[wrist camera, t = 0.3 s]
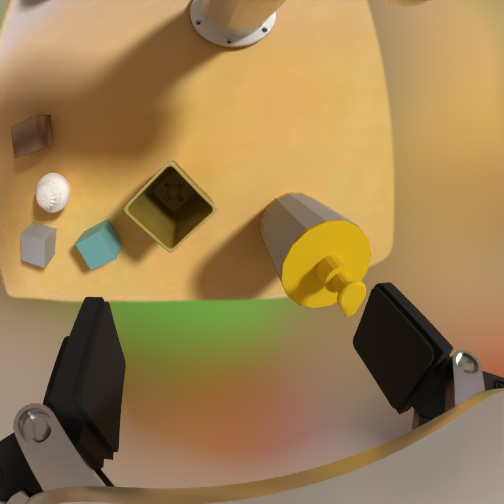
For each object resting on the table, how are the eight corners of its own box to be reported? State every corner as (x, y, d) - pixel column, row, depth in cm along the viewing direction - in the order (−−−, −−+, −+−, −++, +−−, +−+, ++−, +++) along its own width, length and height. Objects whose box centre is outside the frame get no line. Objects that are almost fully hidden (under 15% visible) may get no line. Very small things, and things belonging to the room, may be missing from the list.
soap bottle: (261, 266, 51) (302, 352, 33) (248, 197, 44) (293, 264, 26) (328, 247, 52) (392, 318, 34) (323, 180, 46) (404, 231, 27)
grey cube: (33, 221, 37) (20, 233, 33) (56, 228, 39) (44, 240, 35) (33, 247, 39) (21, 260, 35) (55, 253, 41) (44, 267, 37)
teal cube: (84, 231, 41) (74, 244, 36) (108, 218, 41) (99, 231, 37) (98, 255, 43) (91, 270, 39) (122, 244, 43) (115, 258, 39)
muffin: (74, 208, 39) (57, 224, 32) (44, 201, 36) (25, 216, 30) (80, 171, 36) (62, 182, 30) (48, 165, 34) (27, 175, 28)
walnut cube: (26, 124, 30) (10, 127, 26) (50, 114, 31) (35, 116, 26) (30, 152, 32) (15, 158, 28) (54, 144, 33) (39, 149, 29)
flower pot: (133, 191, 40) (121, 210, 32) (174, 150, 39) (170, 159, 31) (173, 228, 44) (170, 254, 36) (213, 191, 43) (219, 210, 35)
